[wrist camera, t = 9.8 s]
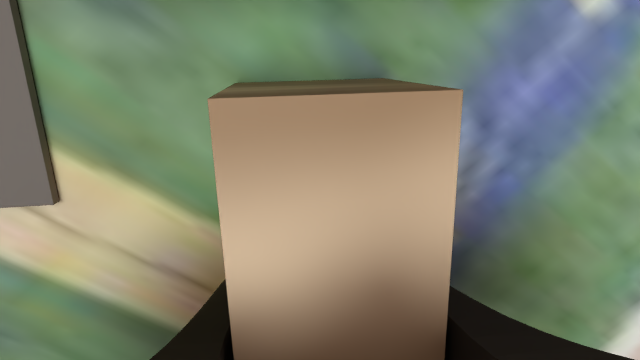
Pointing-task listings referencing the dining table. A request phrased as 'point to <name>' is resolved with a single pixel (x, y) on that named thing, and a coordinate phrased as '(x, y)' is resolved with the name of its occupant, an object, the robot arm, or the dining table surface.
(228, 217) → the maple bar
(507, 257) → the dining table surface
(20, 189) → the rubber mat
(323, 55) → the dining table surface
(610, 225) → the dining table surface
